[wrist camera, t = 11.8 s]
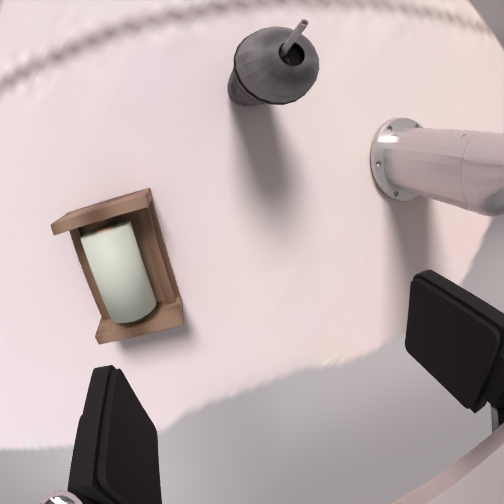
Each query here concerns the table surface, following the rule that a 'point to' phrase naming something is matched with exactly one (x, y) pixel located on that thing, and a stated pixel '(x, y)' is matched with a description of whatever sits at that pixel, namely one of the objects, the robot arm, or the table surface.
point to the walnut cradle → (152, 253)
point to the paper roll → (119, 271)
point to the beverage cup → (273, 67)
